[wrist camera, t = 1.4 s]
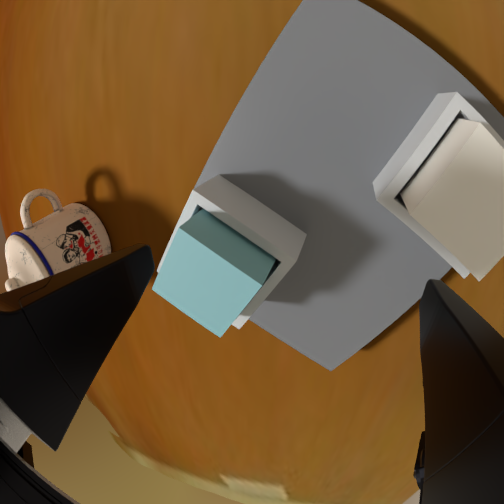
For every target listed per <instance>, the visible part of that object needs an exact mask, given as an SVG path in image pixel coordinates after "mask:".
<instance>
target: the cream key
mask: <svg viewBox="0 0 504 504" xmlns="http://www.w3.org/2000/svg"><path fill="white" fill-rule="evenodd" d="M400 195H401V197H402V199H403V201H404V203H405V205H406V208H407V210H408V212H409V214H410V216H412V217H413V218H414V219H415V220H416V221H417V222H418V223H420V224H421V225H422V226H423V227H424V228H425V229H426V230H427V231H428V232H430V233H431V234H432V235H433V236H434V237H435V238H436V239H437V240H438V241H439V242H440V243H441V244H442V245H443V246H445V247H446V248H447V249H448V250H449V251H450V252H451V253H452V254H453V255H454V256H455V257H456V258H457V259H458V260H459V261H460V262H461V263H462V264H463V265H464V266H465V267H466V268H467V269H468V270H469V271H470V272H471V273H472V275H473V276H474V277H475V278H476V279H477V280H478V281H480V280H481V279H482V278H483V277H484V276H485V275H486V274H487V273H488V272H489V271H490V270H491V269H492V268H493V267H494V266H495V264H496V263H497V262H498V261H499V260H500V259H501V258H502V257H503V256H504V149H503V147H502V146H501V145H500V144H499V143H498V142H497V140H496V139H495V138H494V137H493V136H492V135H491V134H490V133H489V131H488V130H487V129H486V128H485V127H484V126H483V125H482V124H481V123H480V122H475V121H470V120H465V119H459V118H457V119H456V120H455V122H454V123H453V124H452V126H451V127H450V129H449V130H448V131H447V133H446V134H445V136H444V137H443V138H442V140H441V141H440V143H439V144H438V145H437V147H436V148H435V149H434V151H433V152H432V153H431V155H430V156H429V157H428V159H427V160H426V161H425V163H424V164H423V165H422V167H421V168H420V169H419V170H418V172H417V173H416V174H415V176H414V177H413V178H412V179H411V181H410V182H409V183H408V184H407V186H406V187H405V188H404V189H403V191H402V192H401V193H400Z"/></svg>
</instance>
